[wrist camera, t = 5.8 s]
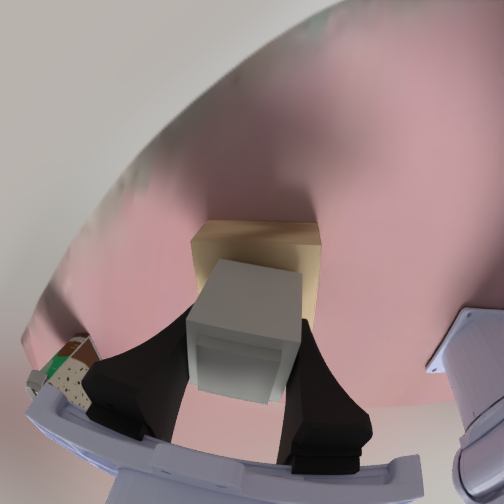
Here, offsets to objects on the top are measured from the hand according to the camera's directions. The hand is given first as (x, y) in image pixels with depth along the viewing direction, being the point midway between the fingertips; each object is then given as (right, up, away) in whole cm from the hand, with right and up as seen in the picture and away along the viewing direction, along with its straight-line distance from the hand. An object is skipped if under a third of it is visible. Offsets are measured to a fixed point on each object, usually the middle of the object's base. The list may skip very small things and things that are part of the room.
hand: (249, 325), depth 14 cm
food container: (-21, -9, +15) cm, 28 cm away
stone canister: (0, +1, +1) cm, 2 cm away
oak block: (+1, +3, +5) cm, 6 cm away
